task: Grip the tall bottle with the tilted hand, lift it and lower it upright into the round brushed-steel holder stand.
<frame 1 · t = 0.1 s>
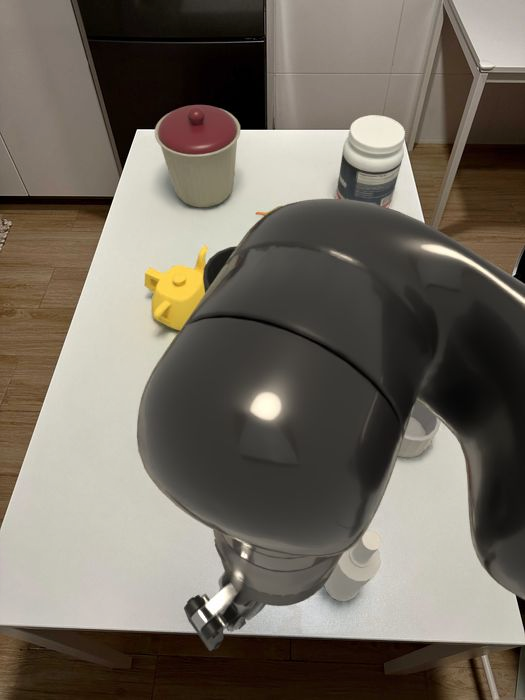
hand: (274, 577, 42), 35 cm above the table, tool pointing down, fingers open, 8 cm apart
bottle: (340, 583, 75), on the table
supplement tub: (362, 202, 121), on the table
stand: (403, 435, 88), on the table
rabbit: (231, 460, 85), on the table
canister: (204, 193, 123), on the table
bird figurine: (288, 326, 101), on the table
decorative item: (352, 301, 104), on the table
olive yellow toy bird: (288, 232, 115), on the table
vase: (246, 386, 93), on the table
teapot: (189, 309, 103), on the table
toy car: (320, 446, 87), on the table
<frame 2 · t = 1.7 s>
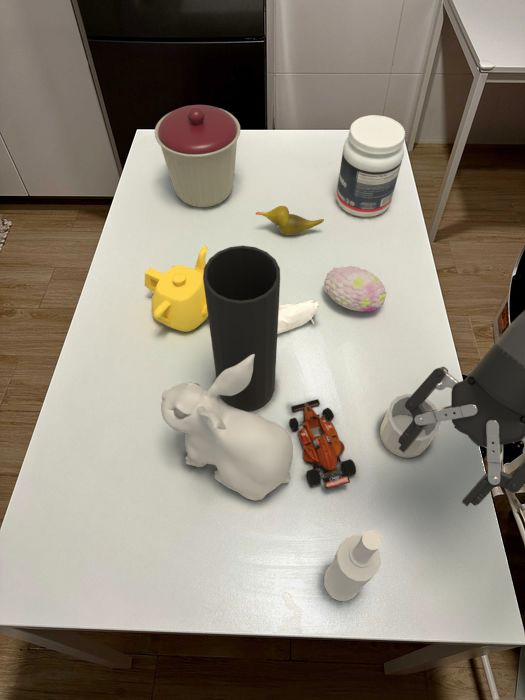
hand: (433, 475, 58), 25 cm above the table, tool tilted 45°, fingers open, 8 cm apart
nothing on the table moved.
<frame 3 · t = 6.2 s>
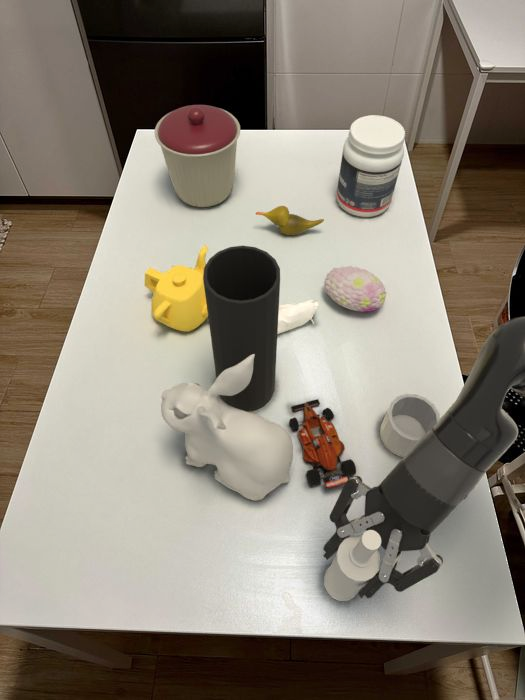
hand: (344, 574, 63), 13 cm above the table, tool tilted 45°, fingers closed on bottle, 5 cm apart
bottle: (340, 583, 75), on the table, touching gripper
everything else where it was.
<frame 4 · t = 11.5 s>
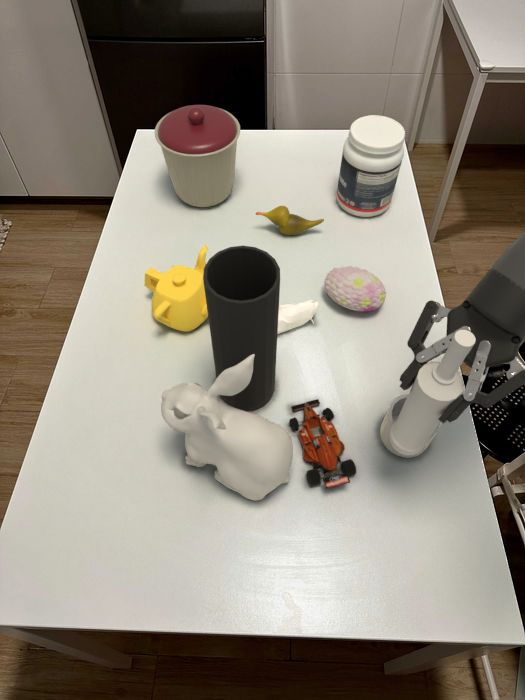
hand: (423, 403, 60), 27 cm above the table, tool tilted 45°, fingers closed on bottle, 5 cm apart
bottle: (406, 440, 72), point 14 cm above the table, touching gripper
everything else where it was.
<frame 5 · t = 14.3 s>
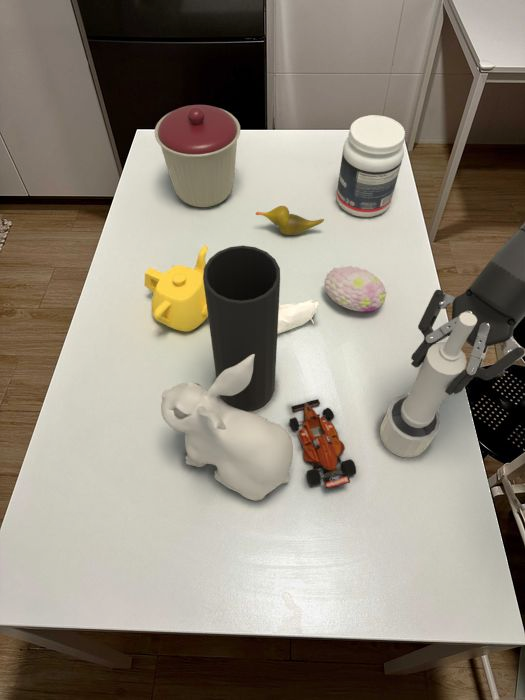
hand: (431, 378, 70), 21 cm above the table, tool tilted 45°, fingers closed on bottle, 5 cm apart
bottle: (415, 415, 82), point 7 cm above the table, touching gripper
everything else where it was.
when the fingers open (14 cm above the table, at t = 16.7 s): bottle stays where it is, resting on stand.
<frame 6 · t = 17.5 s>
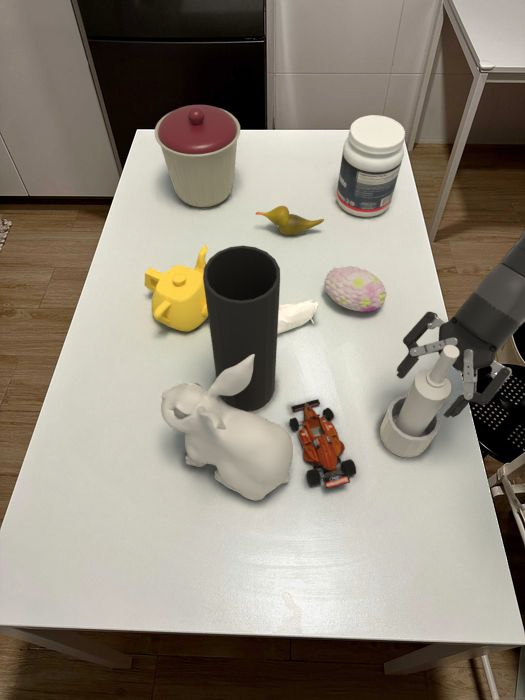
hand: (422, 396, 74), 15 cm above the table, tool tilted 45°, fingers open, 8 cm apart
bottle: (405, 433, 87), resting on stand
everything else where it was.
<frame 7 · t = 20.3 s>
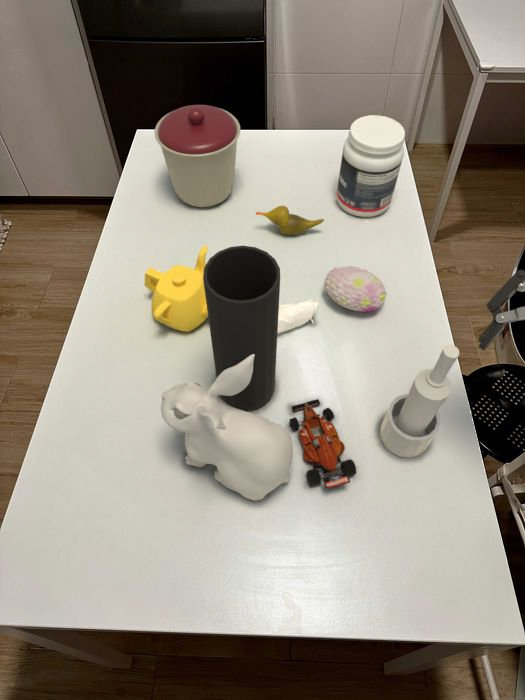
hand: (510, 370, 63), 27 cm above the table, tool tilted 45°, fingers open, 8 cm apart
nothing on the table moved.
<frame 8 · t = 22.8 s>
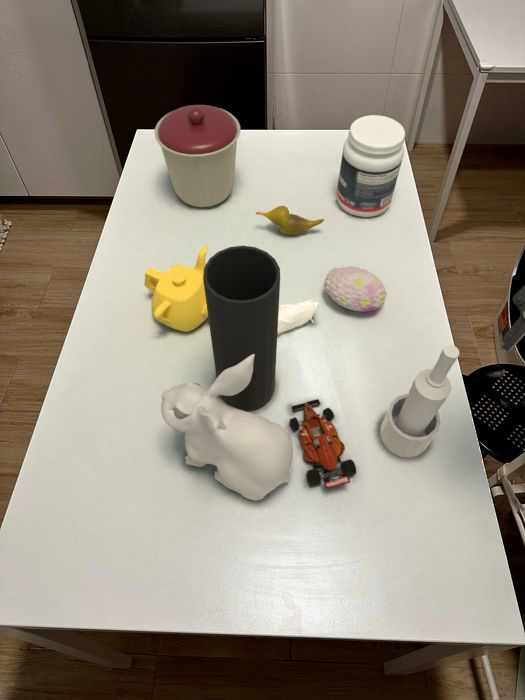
nothing on the table moved.
at the end: bottle 0.2 cm off-centre in the stand, point 0.4 cm above the stand's base; bottle tilted 0°; the gripper is holding nothing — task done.
